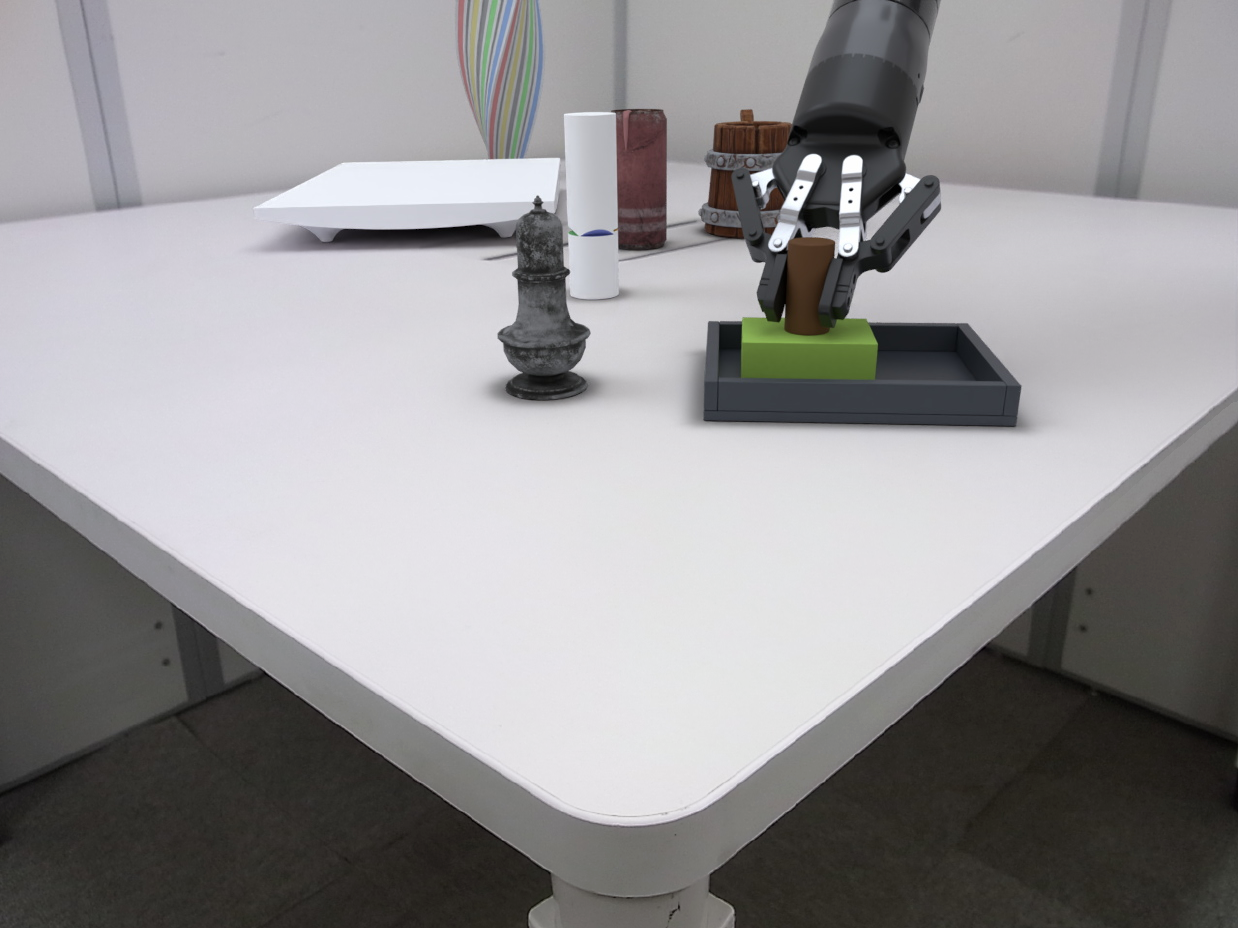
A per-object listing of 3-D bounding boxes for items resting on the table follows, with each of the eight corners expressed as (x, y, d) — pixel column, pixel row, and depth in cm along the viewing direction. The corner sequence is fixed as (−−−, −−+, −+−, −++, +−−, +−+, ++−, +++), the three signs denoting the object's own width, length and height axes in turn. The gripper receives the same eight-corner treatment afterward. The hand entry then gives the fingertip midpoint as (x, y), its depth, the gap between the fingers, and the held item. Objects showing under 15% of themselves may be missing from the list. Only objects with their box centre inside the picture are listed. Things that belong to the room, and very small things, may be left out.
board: (556, 245, 110) (554, 201, 109) (259, 252, 110) (252, 208, 108) (561, 190, 152) (560, 157, 150) (346, 195, 151) (342, 162, 149)
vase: (555, 174, 171) (547, -22, 159) (542, 184, 159) (532, -27, 147) (477, 174, 172) (463, -20, 161) (457, 185, 160) (441, -25, 148)
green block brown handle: (863, 362, 66) (873, 232, 63) (874, 391, 61) (886, 251, 58) (740, 361, 67) (744, 232, 64) (740, 389, 62) (745, 250, 59)
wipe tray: (963, 357, 69) (968, 323, 68) (1016, 426, 57) (1022, 385, 56) (707, 354, 71) (708, 320, 70) (703, 420, 59) (704, 381, 58)
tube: (587, 286, 92) (582, 111, 86) (627, 291, 89) (625, 112, 84) (560, 296, 88) (553, 115, 82) (602, 301, 86) (598, 116, 80)
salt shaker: (481, 387, 65) (468, 196, 60) (550, 367, 69) (543, 186, 64) (541, 408, 61) (531, 205, 56) (611, 385, 65) (607, 194, 60)
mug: (701, 238, 111) (702, 95, 108) (694, 238, 125) (695, 111, 122) (808, 237, 111) (812, 93, 107) (789, 237, 125) (792, 110, 121)
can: (603, 250, 108) (600, 111, 102) (617, 239, 113) (615, 107, 108) (659, 251, 106) (659, 111, 101) (671, 240, 112) (671, 107, 107)
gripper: (747, 51, 66) (673, 274, 60) (971, 48, 60) (912, 294, 55) (769, 130, 72) (704, 338, 67) (973, 134, 67) (920, 362, 61)
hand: (798, 317), depth 61 cm, fingers closed on green block brown handle, 3 cm apart
